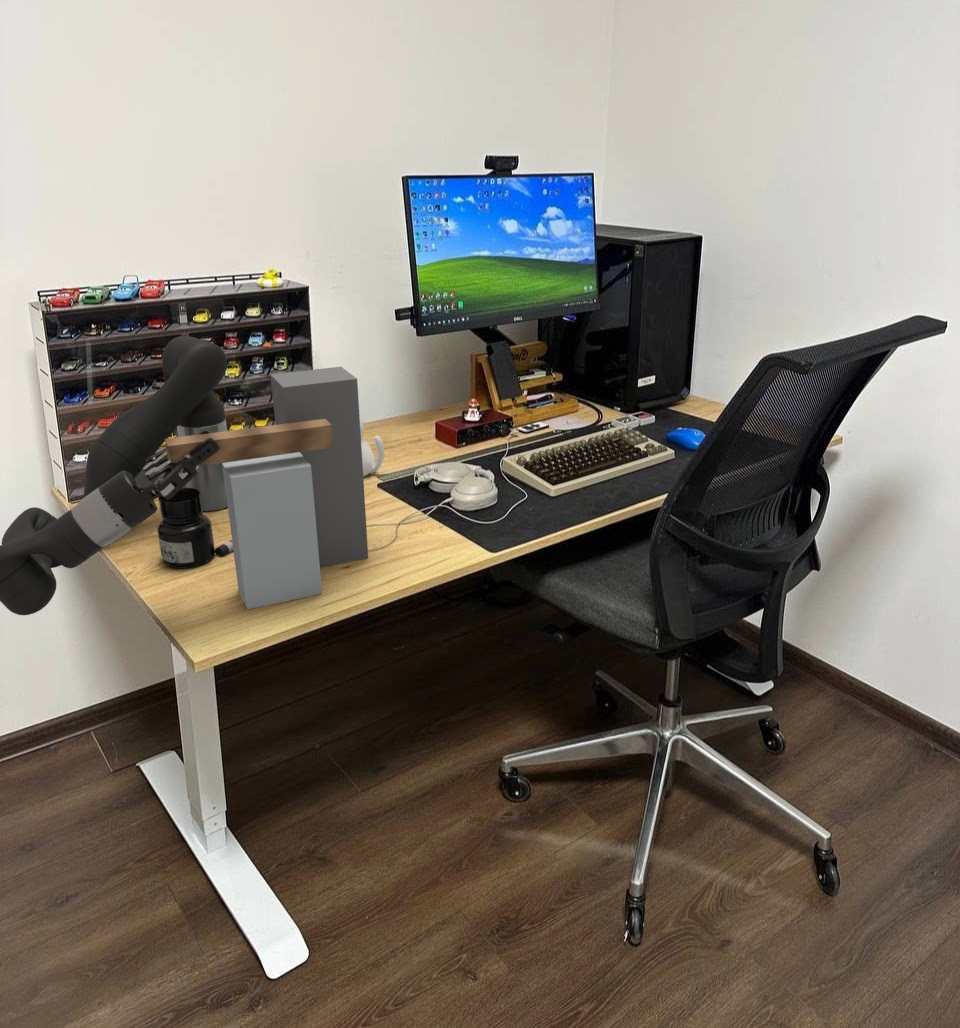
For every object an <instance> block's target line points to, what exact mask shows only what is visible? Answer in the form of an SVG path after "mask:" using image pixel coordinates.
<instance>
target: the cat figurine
mask: <svg viewBox="0 0 960 1028" xmlns="http://www.w3.org/2000/svg"><path fill="white" fill-rule="evenodd" d="M359 416H360V432H361V448H362V464H363V478H365V477H366V476H368V475H369V474H373V473H376V472H378V470H380V467H381V465H382V464H383V459H384V455H385V450H384V449H385V447H384V443H383V440H382V439H381V437H380V436H379V435H375V436H374V442H375V446H376V453H377V454H376V457H375V455H374V452H373V450H372V447H371V446H370V445H369V443H368V442H367V441H366V440H365V439H364V438H362V437H363V436H364V433H365V424H364V420H363V418H362V416H361V414H359Z"/></svg>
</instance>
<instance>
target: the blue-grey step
mask: <svg viewBox="0 0 960 1028" xmlns="http://www.w3.org/2000/svg"><path fill="white" fill-rule="evenodd" d="M222 465H223V473H224V481H225V488H226V496H227V504H228V507H227V509H228V511H227V512H228V518H229V526H230V533H231V539H232V543H233V551H232V552H233V556H234V565H235V573H236V581H237V588H238V593H239V594H240V596H241V599H242V602H243V603H244V606H245V609H246V610H252V609H256V608H262V607H265V606H271V605H275V604H280V603H285V602H290V601H294V600H298V599H305V598H308V597H309V598H310V597H313V596H318V595H322V594H323V589H322V577H321V567H320V564H319V552H318V541H317V529H316V518H315V506H314V495H313V483H312V471H311V465H310V464H309V463H308V462H307V460H306V459H305V458H304V457H303V456H302V454H301V453H300V452H297V453H290V454H283V455H275V456H268V457H261V458H253V459H246V460H239V461H232V462H228V463H222Z"/></svg>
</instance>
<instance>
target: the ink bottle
mask: <svg viewBox="0 0 960 1028" xmlns="http://www.w3.org/2000/svg"><path fill="white" fill-rule="evenodd" d="M158 504H159V508H160V514H161V518H162V520H161V521H160V522H159V523H158V525H157V537H158V544H159V545H158V546H159V549H160V556H161V559H162V562H163V564H164V565H167V566H169V567H172V568H176V569H177V568H178V569H188V568H194V567H197V566H200V565H203V564H206V563H208V562H209V561H211V560H212V559H213V558H214V556H216V554H215V549H216V548H215V542H214V534H213V528H212V522H211V520H210V518H209V517H208V516H206V515H204V514H203V512H204V511H203V509H202V508H203V507H202V500H201V493H200V491H199V490H197V489H194V488H182V489H181V490H179V491H178V492H177V493H176V494H175V495H174V496H173V497H172V498H171V499H169V500H166V499H165V498H164V497H163V496H162V495H161V496H160V497H158Z"/></svg>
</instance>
